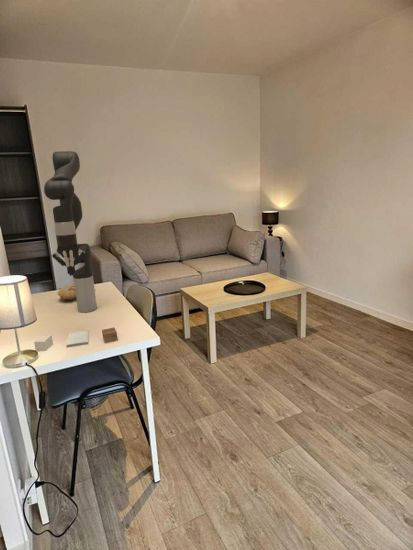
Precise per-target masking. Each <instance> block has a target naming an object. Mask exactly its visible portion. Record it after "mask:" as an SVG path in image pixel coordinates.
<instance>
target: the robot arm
mask: <svg viewBox="0 0 413 550" xmlns="http://www.w3.org/2000/svg"><path fill="white" fill-rule="evenodd" d="M51 158H52V165H53V169H54V174H53V176H52V177H50V178H48V180H47V181H46V182H45V183H44V187H43V192H44V193H43V194H44V195H45V196H46V198H47V199H48V200H51V201H58V200H59V205H57V206H54V207H53V208H52V214H53V215H52V216H53V222H54V235H55V238H56V245H57V248H56V251H55V252H53V253H52V255H51V257H52V258H53V259H54V260H55V261H57V262H58V263H59V265H61V266H62V267H66V270H67V274H68V275H69V276H71V277H72V279H73V284H74V287H75V294H76V299H75V301H76V309H77V312H78V313H90V312H93V311H96V310H97V309H98V305H97V297H96V288H95V281H94V273H93V266H92V254H91V253H92V252H91V247H90V245H89V244H88V243H78V239H77V232H76V231H77V230H78V227H79V226H80V223H81V221H82V219H83V209H82V202H81V200H80V197H78V195H77V194H76V192H75V185H74V184H73V183H72V181H73V179H74V178H75V176H76V175H77V174H78V173H79V172H80V168H81V165H80V164H81V161H80V158H79V154H78V153H77V152H75V151H72V150H67V151H64V150H63V151H54V152H53V153H52V157H51ZM61 257H62V258H61ZM79 264H83V266H81V267H80V268H78V269H76V266H77V265H79Z"/></svg>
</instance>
